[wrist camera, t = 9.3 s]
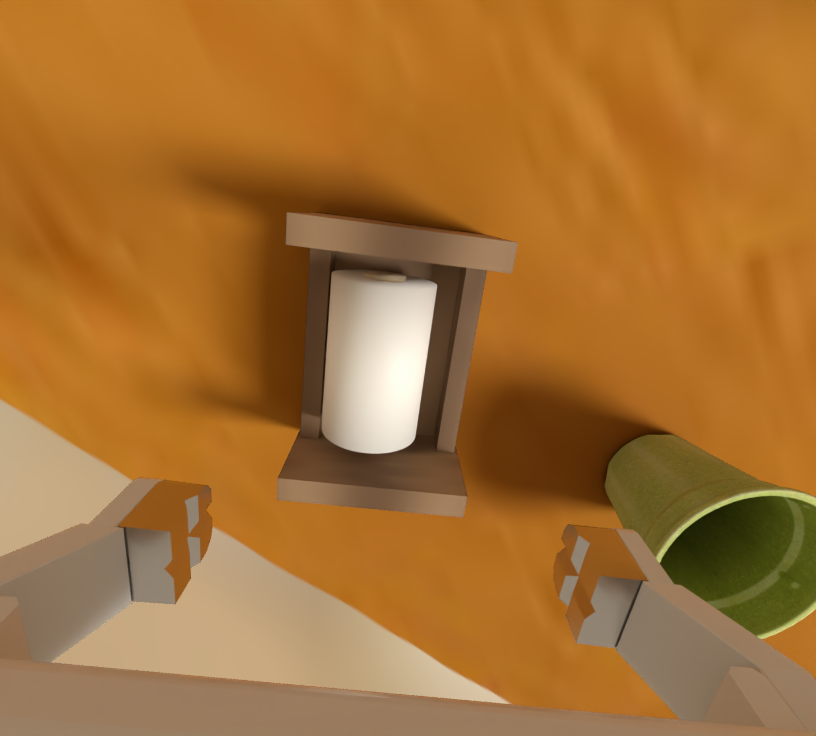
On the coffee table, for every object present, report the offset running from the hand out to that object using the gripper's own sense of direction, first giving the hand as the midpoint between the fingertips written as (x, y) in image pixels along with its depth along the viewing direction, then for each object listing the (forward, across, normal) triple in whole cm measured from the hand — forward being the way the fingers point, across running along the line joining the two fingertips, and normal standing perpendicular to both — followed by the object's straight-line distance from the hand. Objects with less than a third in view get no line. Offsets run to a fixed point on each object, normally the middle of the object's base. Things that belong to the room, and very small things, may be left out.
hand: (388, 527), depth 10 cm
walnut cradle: (+16, +1, 0) cm, 17 cm away
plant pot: (+17, -17, +7) cm, 25 cm away
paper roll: (+15, 0, 0) cm, 15 cm away
